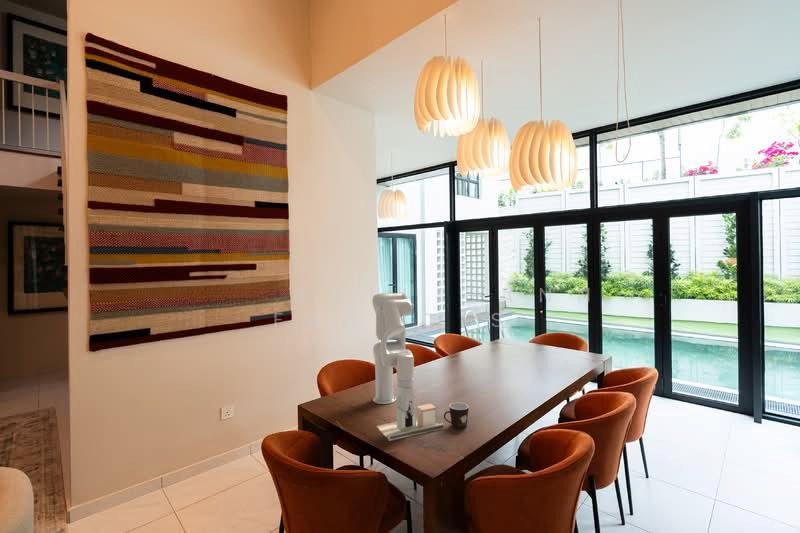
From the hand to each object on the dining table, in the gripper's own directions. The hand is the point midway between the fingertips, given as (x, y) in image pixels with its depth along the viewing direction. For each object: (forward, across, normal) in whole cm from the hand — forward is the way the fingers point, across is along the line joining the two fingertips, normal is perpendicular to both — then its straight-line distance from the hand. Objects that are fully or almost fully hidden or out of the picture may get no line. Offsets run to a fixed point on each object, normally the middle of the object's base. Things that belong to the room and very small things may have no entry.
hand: (406, 423), depth 164 cm
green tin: (+2, 0, 0) cm, 2 cm away
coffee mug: (+5, +5, +22) cm, 23 cm away
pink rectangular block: (+3, 0, +10) cm, 11 cm away
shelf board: (+4, -3, +3) cm, 6 cm away
